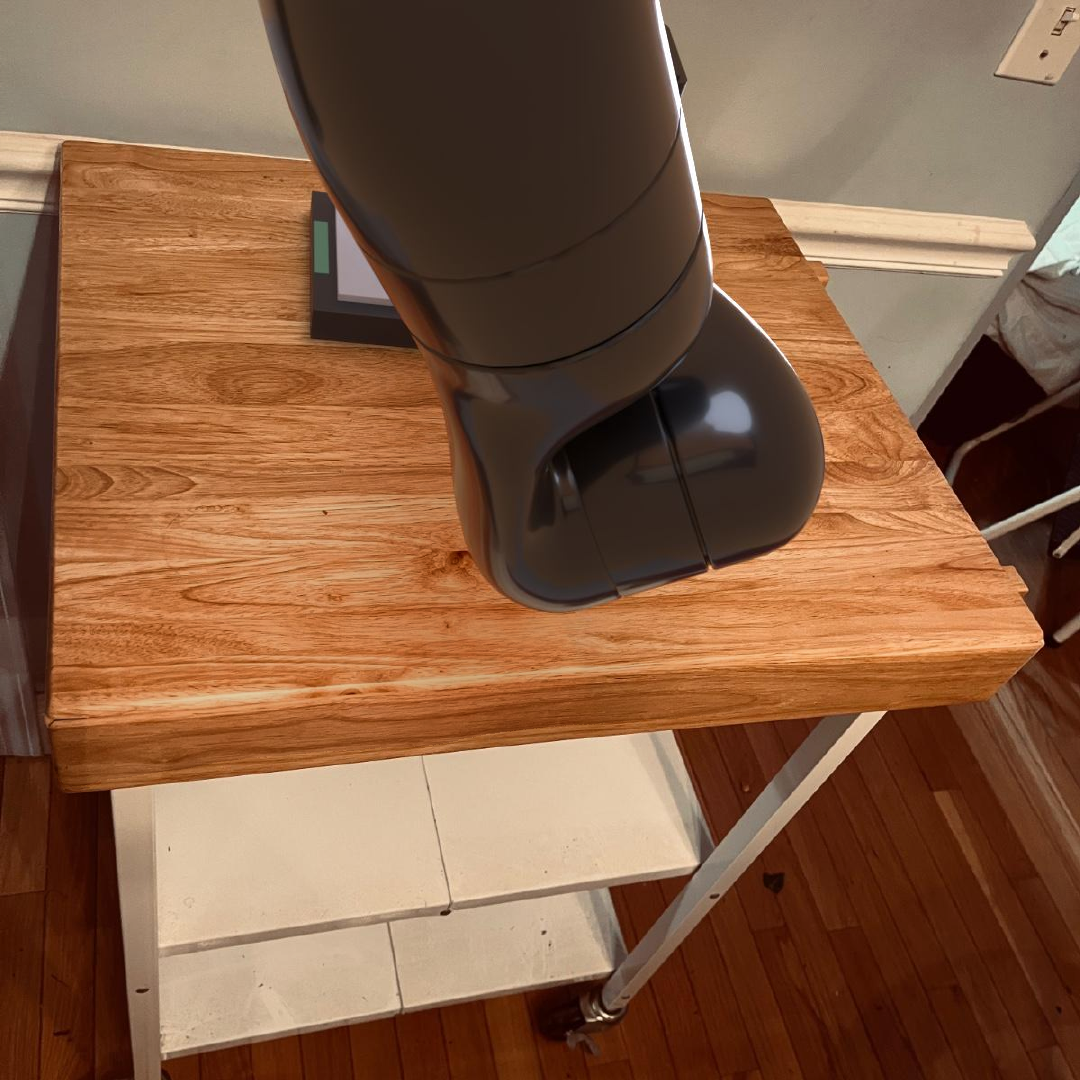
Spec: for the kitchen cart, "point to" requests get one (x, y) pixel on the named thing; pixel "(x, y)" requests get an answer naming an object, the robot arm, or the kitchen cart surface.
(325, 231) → the scale
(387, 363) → the kitchen cart surface
